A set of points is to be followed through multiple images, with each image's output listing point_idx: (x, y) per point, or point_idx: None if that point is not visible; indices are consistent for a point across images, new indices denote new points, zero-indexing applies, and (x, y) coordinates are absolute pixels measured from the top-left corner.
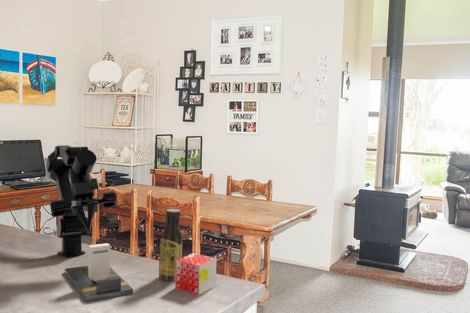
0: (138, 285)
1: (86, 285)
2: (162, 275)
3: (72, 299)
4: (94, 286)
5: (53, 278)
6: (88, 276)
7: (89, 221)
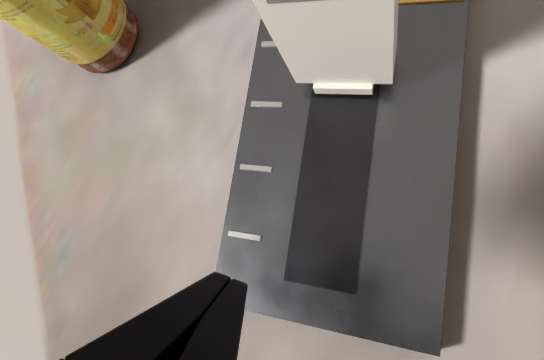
0: (225, 17)
1: (423, 38)
2: (127, 13)
3: None
4: None
5: (527, 295)
6: (392, 80)
7: (151, 328)
